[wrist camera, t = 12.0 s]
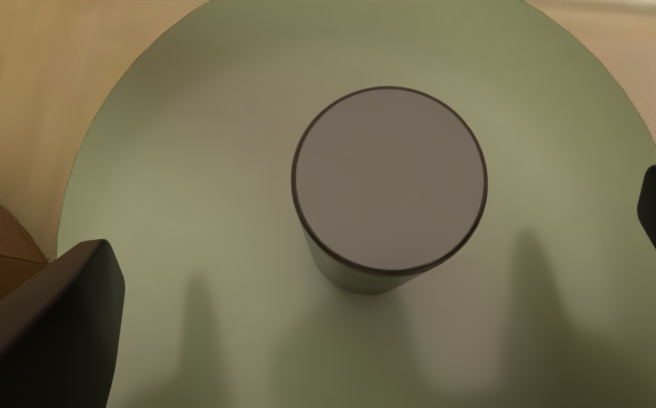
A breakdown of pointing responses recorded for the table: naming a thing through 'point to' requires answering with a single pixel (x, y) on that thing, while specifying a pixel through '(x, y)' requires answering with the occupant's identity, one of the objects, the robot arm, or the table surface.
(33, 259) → the brown round pot
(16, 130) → the table surface
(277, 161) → the lid
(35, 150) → the table surface
